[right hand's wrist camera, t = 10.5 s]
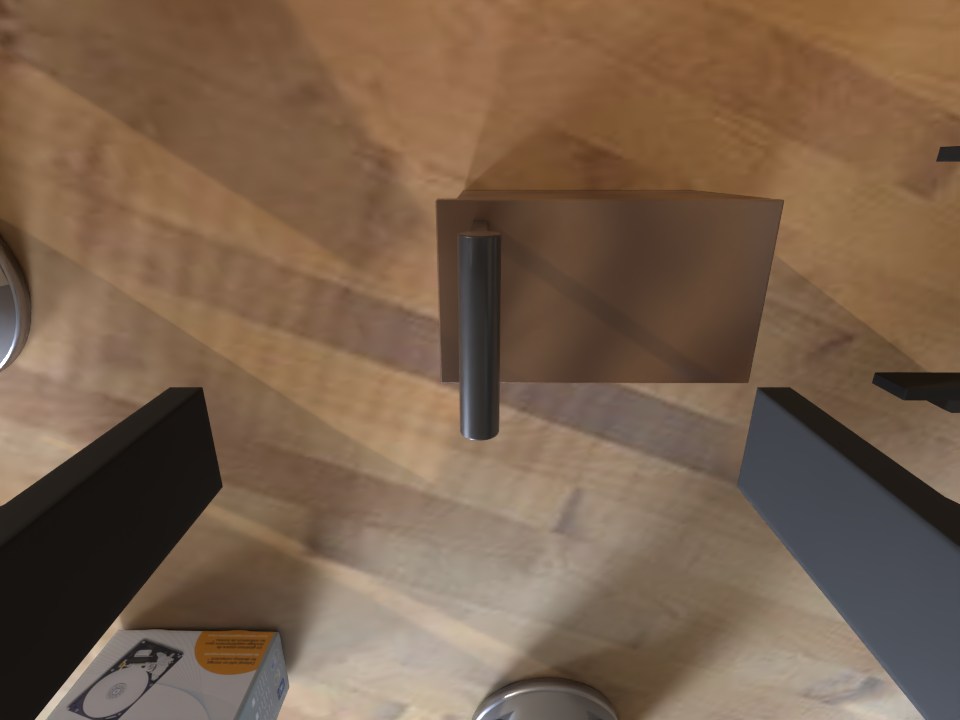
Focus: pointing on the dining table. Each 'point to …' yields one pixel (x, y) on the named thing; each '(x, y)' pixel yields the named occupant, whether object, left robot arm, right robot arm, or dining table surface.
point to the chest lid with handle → (598, 293)
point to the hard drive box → (181, 677)
